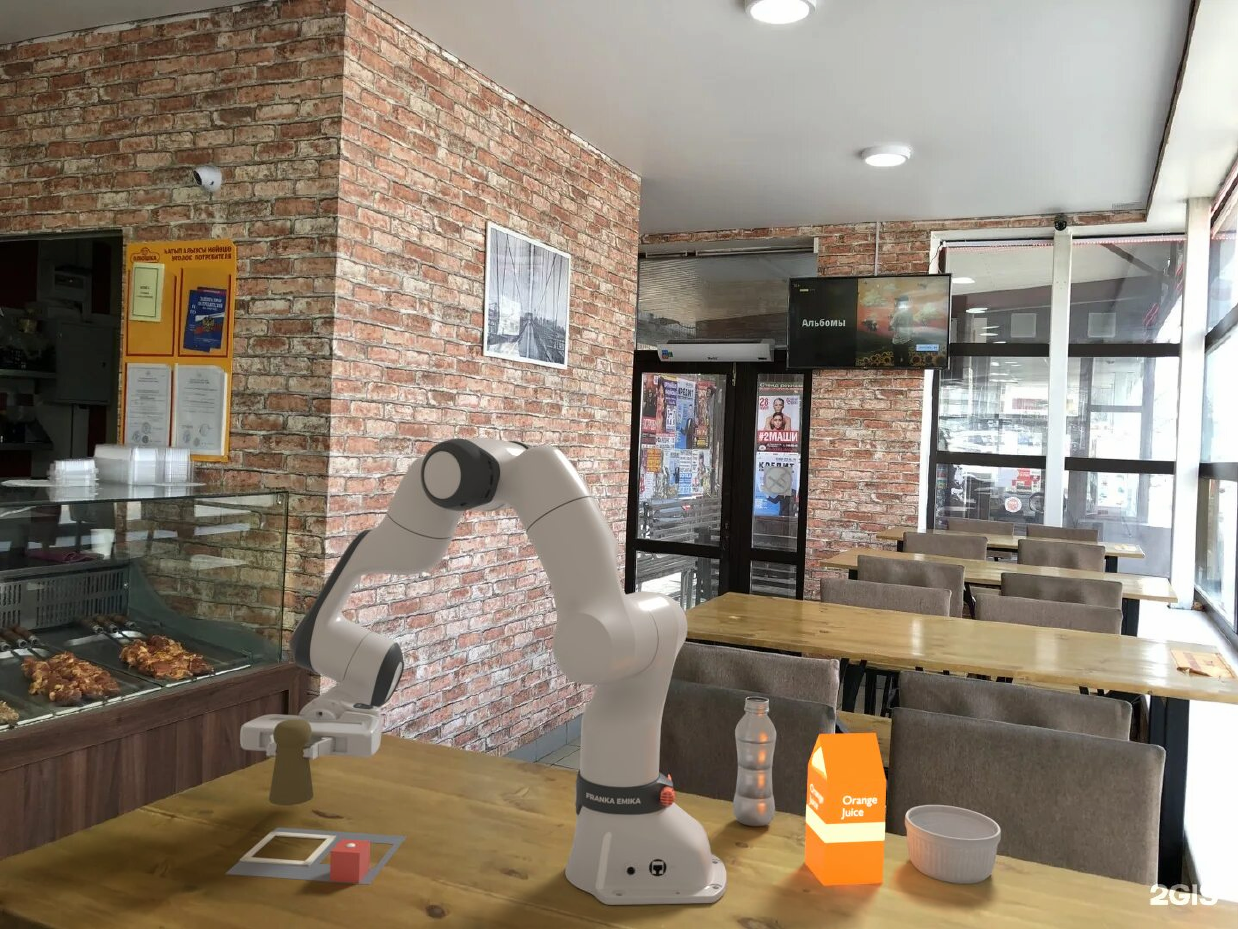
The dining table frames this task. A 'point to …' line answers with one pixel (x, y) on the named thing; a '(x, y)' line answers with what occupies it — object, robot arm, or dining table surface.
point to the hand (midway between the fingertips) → (289, 752)
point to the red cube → (350, 860)
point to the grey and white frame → (311, 865)
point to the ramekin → (952, 843)
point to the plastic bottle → (755, 764)
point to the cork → (291, 764)
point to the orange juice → (846, 810)
